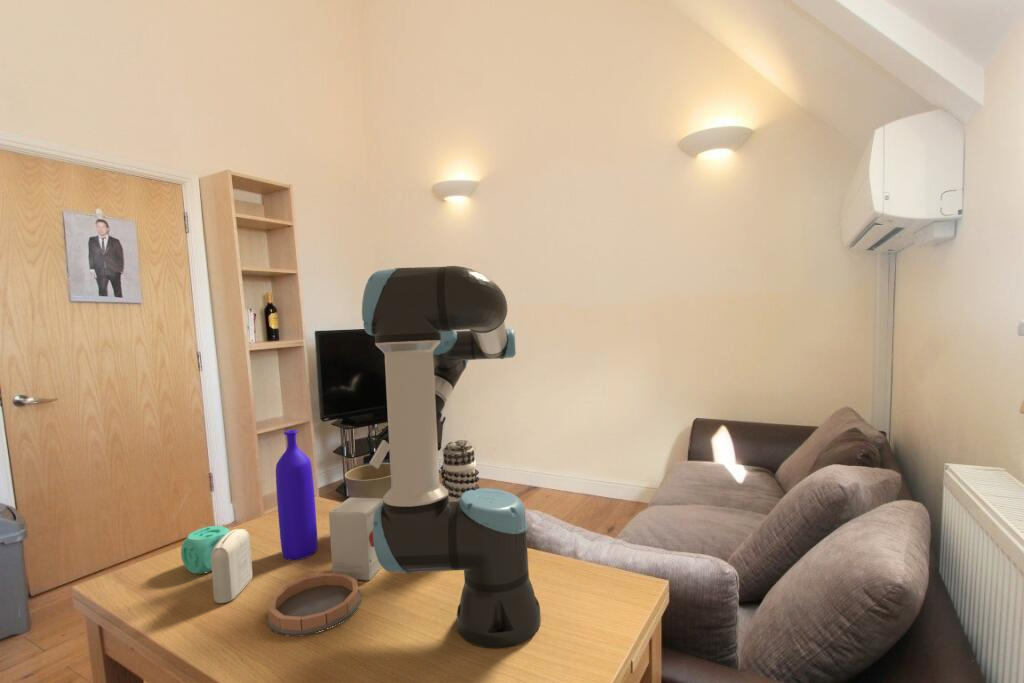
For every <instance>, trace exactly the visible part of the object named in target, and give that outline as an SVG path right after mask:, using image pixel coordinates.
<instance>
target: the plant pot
mask: <svg viewBox="0 0 1024 683" xmlns="http://www.w3.org/2000/svg"><path fill="white" fill-rule="evenodd" d="M344 478H345V483H346V487H347V492H348V495H349V498H383V497H384V495H385V494H386V493H387V492H388V491H389V490H390V488H391V471H390V462H382V463H381V464H380V466H379V468H378V469H377V468H375V467H374V466H372V465H371V464H370V463H369V464H365V465H360V466H358V467H355V468H352V469H350V470H348V471H346V472H345V474H344Z"/></svg>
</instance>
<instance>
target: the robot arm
mask: <svg viewBox="0 0 1024 683" xmlns="http://www.w3.org/2000/svg"><path fill="white" fill-rule="evenodd" d="M361 304H362V305H361V319H362V322H363V329H364V331H365V333H366V334H368V335H369V336H373V337H374V342H375V343H374V344H375V346H376V347H377V348H378V349H379V350H380V351H381V352H382V353H383V354H384V368H385V369H384V370H385V371H384V372H385V388H386V389H385V390H386V408H387V425H386V426H385V427H384V428H383V429H382V430H381V431H380V432H379V433H378V434H377V437H378V438H379V439H380V443H379V444H378V446H377V447H376V449H375V452H374V454H373V456H372V458H371V459H370V461H369V464H371V465H372V466H374V467H375V468H377V469H378V468H379V466H380V464H381V463H383V461H384V459H385V457H386V456H387V454H388V452H389V463H390V471H391V488H390V490H389V491H388V492H387V493H386V494H385V495H384V497H383V504H382V505H380V506H378V508H377V509H376V511H375V514H374V518H373V524H374V528H373V542H374V548H375V552H376V556H377V559H378V561H379V563H380V565H381V566H382V567H381V568H383V569H384V570H385V571H387V572H389V573H405V574H408V575H409V574H414V573H430V572H447V571H448V572H450V571H463V575H464V583H463V587H462V592H461V595H460V600H459V601H460V602H459V604H458V607H457V611H456V625H457V626H456V627H457V630H458V633H459V635H460V636H461V637H462V638H463V640H465V641H466V642H468V643H470V644H472V645H474V646H478V647H481V648H486V649H501V648H508V647H513V646H517V645H519V644H521V643H523V642H525V641H527V640H528V639H531V637H533V635H535V634H536V632H537V631H538V630H539V628H540V626H541V622H542V620H541V618H542V617H541V606H540V603H539V600H538V598H537V597H536V593H535V591H534V588H533V584H532V582H531V579H530V575H529V574H530V572H529V571H530V570H529V555H528V553H529V552H528V538H527V530H528V522H527V518H526V507H525V504H524V503H523V502H524V501H522V500H521V498H519V497H518V496H517V495H515V494H513V493H511V492H509V491H506V490H502V489H497V488H485V487H484V488H483V487H482V488H481V487H479V488H478V489H475V490H469V491H466V492H465V493H463V494H462V495H461V497H460V499H459V501H455V502H454V501H449V495H448V490H447V489H446V488H445V487H444V486H443V484H442V482H440V467H439V463H440V462H439V451H440V450H441V449H442V443H443V442H442V440H443V433H444V432H443V430H444V425H445V421H446V418H447V417H446V416H445V415H444V414H443V413H442V412H443V410H444V408H445V406H446V403H447V402H448V400H449V398H450V396H451V395H452V393H453V391H454V389H455V386H456V385H457V383H458V381H459V380H460V378H461V376H462V374H463V372H464V371H465V369H466V368H467V364H468V362H469V361H474V360H494V359H495V360H497V359H499V360H500V359H501V360H504V359H509V358H511V359H512V358H514V357H516V353H517V352H516V350H517V349H516V335H515V334H516V333H515V330H514V329H512V328H506V323H505V321H506V318H507V315H508V303H507V298H506V295H505V293H504V292H503V291H502V289H501V288H500V286H499V285H497V283H495V282H494V281H493V280H492V279H490V278H489V277H488V276H486V275H484V274H483V273H481V272H479V271H477V270H474V269H472V268H469V267H465V266H458V265H447V266H426V267H425V266H423V267H421V266H418V267H395V268H390V269H382V270H381V269H380V270H377V271H375V272H374V273H372V274H371V275H370V276H369V278H368V280H367V282H366V284H365V288H364V291H363V297H362V302H361Z"/></svg>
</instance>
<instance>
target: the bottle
mask: <svg viewBox="0 0 1024 683" xmlns="http://www.w3.org/2000/svg"><path fill="white" fill-rule="evenodd" d="M297 433H299V430H297V429H290V430H286V431H284V433H283V434H284V435H285V436H286V439H287V440H286V442H287V445H286V449H285V450H284V452H283V454H282V455H281V456H280V458H279V459H278V461H277V463H276V464H275V486H276V487H275V488H276V502H277V503H276V504H277V514H278V527H279V528H278V529H279V537H280V547H281V553H282V556H283V558H284V559H285V558H286V560H288V559H290V560H289V561H296V559H298V560H302V559H301V558H303V559H306V558H308V557H310V556H312V555H314V554H315V553H316V552H315V551H317V549H318V529H317V513H316V500H315V499H316V498H315V488H314V476H313V467H312V461H311V459H310V458H309V457H308V455H307V454H306V453H305V452H303V451H302V449H300V448H299V447H298V445H297ZM314 552H315V553H314ZM313 553H314V554H313ZM311 554H312V555H311ZM307 556H308V557H307ZM305 557H306V558H305Z"/></svg>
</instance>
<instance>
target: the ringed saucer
mask: <svg viewBox="0 0 1024 683" xmlns="http://www.w3.org/2000/svg"><path fill="white" fill-rule="evenodd" d="M360 603H362V593H361V590H360V589H359V582H358V580H356V579H354V578H352V577H350V576H348V575H347V574H336V573H333V572H332V573H331V572H328V573H326V572H325V573H321V574H316V575H311V576H307V577H303V578H301V579H299V580H297V581H294V582H292V583H290V584H288V585H286V586H284V587H283V588H281V590H279V591H277V593H275V595H274V596H272V597H271V598H270V603H269V607H268V614H267V625H268V624H269V625H268V627H269V626H270V627H269V629H270V628H271V629H272V630H274V631H275V632H277V633H276V634H278V633H279V634H278V635H281V634H282V635H281V636H285V635H289V636H288V637H301V636H300V635H305V636H310V634H311V635H314V633H315V634H317V633H316V632H319V631H322V630H325V631H327V630H326V629H327V628H330V627H332V626H335V625H337V624H339V623H341V622H342V623H344V622H346V621H347V620H348V619H349V617H350V616H351V615H352V614H353V613H354V612H355V611H356V610H357V611H358V609H359V608H360V606H361V604H360ZM359 605H360V606H359ZM358 607H359V608H358ZM357 611H356V612H357ZM356 612H355V613H356ZM355 613H354V614H355ZM354 614H353V615H354ZM353 615H352V616H353ZM352 616H351V617H352ZM351 617H350V618H351ZM346 619H347V620H346ZM345 620H346V621H345ZM343 621H344V622H343ZM342 623H341V624H342ZM339 625H340V624H339ZM337 626H338V625H337ZM335 627H336V626H335ZM271 629H270V630H271ZM330 629H331V628H330ZM272 630H271V631H272ZM274 631H273V632H274ZM275 632H274V633H275ZM322 632H323V631H322ZM319 633H320V632H319Z"/></svg>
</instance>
